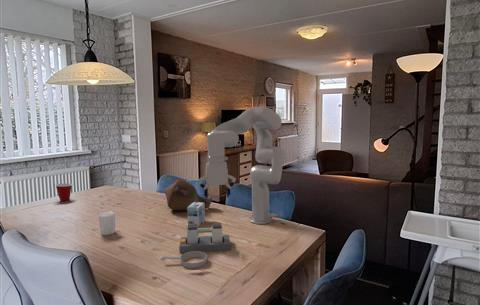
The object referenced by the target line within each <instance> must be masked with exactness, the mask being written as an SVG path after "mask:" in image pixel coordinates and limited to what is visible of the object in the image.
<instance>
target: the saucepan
mask: <svg viewBox="0 0 480 305" xmlns="http://www.w3.org/2000/svg"><path fill="white" fill-rule="evenodd" d="M161 258H162V259H164V260H165V259H169V260H180V263H181V265H182V266H183V268H187V269H191V271H196V270H198V269H199V268H201V267H203V266H205V265H206V264H207V261H208V254H207V252H201V251H191V252H187V253H182V254H181V256H169V255H168V256H167V255H166V256H165V255H163V256H162V257H161ZM191 258H202V259H204V260H201V261H198V262H186V261H185V260H187V259H191Z"/></svg>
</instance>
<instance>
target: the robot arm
mask: <svg viewBox="0 0 480 305" xmlns="http://www.w3.org/2000/svg"><path fill="white" fill-rule="evenodd" d="M282 123H283V122H282V117H281V116H280V115H279V114H278V113H277V112H276V111H274V110H273V109H271V108H270V107H267V106H252V107H249V108H247V109H246V110H245V111H243V112H242V113H241V114H239V115H238V116H237V117H236V118H232V119H231V120H228V121H225V122H223V123H221V124H219V125H218V126H216V127H215V128H213V129H212V130H211V132H208V133H207V135H206V136H207V137H206V143H207V162H206V163H205V175H204V176H201V177H200V178H198V179H197V183H198V184H199V186H200V187H201V188H202V190H203V192H204V197H205V199H209V197H208V194H209V193H208V188H209V186H222V185H224V186H226V197H227V198H230V196H231V189H232V188H231V187H233V186H234V184H235V182H236V180H237V178H236V177H234V176H232V175H230V174H229V172H228V171H229V170H228V164H227V162H226V161H228V160H229V157H228V156H226V155H225V154H226V153H225V148H233V147H235V146H237V144H238V143H239V140H240V139H239V138H240V137H239V135H242V134H245V133H247V132H248V131H249V130H250V129H252V127H253V129H254V131H255V134H256V137H257V138H256V139H257V140H256V147H255V148H256V149H255V156H254V157H255V161H256V162H258V163H260V164H258V165H257V164H256V165H254V166H252V167H251V168H250V173H249V175H250V176H249V177H250V181H251V216H250V217H249V220H248V221H250V222H251V223H252V224H257V225H265V224H269V223H271V222H272V221H273V220H272V218H278V213H274V212H272V213H270V189H269V186H268V185H269V184H270V185H278V184H279V183H280V181H281V180H282V172H283V164H284V157H285V156H284V151H283V149H282V148H281V147H279V146H273V136H272V133H271V132H270V131H273V130H274V131H275V130H276V131H277V130H279V129H280V128H281V127H282ZM261 164H268V165H269V166H268V165H261ZM270 165H271V166H270ZM229 179H230V180H231V181H230V182H229ZM203 181H205V184H204V183H203Z"/></svg>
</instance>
